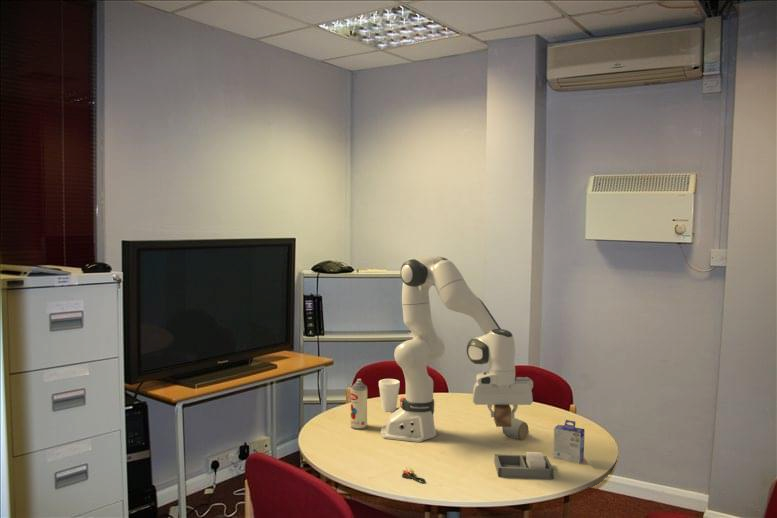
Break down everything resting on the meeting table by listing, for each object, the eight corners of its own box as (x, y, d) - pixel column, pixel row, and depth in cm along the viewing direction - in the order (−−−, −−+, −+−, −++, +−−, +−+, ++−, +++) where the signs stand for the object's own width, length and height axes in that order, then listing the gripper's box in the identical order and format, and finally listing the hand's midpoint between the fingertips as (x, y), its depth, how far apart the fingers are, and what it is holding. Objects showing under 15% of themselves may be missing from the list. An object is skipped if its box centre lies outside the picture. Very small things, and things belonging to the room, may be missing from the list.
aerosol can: (347, 425, 252) (347, 378, 251) (362, 423, 256) (362, 376, 254) (355, 430, 246) (355, 382, 245) (370, 427, 250) (370, 380, 248)
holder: (498, 479, 201) (498, 467, 200) (494, 465, 213) (494, 454, 212) (553, 481, 200) (553, 470, 199) (546, 467, 211) (546, 455, 211)
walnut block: (496, 426, 204) (496, 409, 204) (493, 419, 212) (493, 402, 212) (511, 426, 204) (511, 409, 203) (508, 419, 212) (508, 402, 211)
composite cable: (427, 483, 198) (427, 476, 198) (415, 486, 196) (415, 479, 195) (410, 472, 206) (410, 465, 206) (398, 475, 204) (398, 468, 204)
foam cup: (380, 406, 279) (380, 378, 279) (400, 407, 278) (400, 379, 277) (377, 412, 270) (377, 383, 269) (397, 413, 269) (398, 384, 268)
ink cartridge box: (584, 461, 217) (585, 422, 216) (580, 467, 212) (581, 426, 211) (556, 456, 222) (558, 417, 221) (552, 461, 217) (553, 421, 216)
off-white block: (529, 475, 202) (530, 460, 202) (526, 465, 210) (526, 451, 210) (545, 476, 202) (545, 461, 201) (540, 466, 210) (541, 452, 209)
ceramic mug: (519, 442, 235) (519, 422, 235) (501, 436, 241) (502, 417, 241) (533, 436, 243) (534, 417, 242) (516, 431, 248) (516, 412, 248)
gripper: (531, 375, 209) (531, 414, 210) (472, 374, 211) (472, 414, 211) (534, 379, 203) (534, 419, 204) (473, 379, 205) (473, 419, 205)
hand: (502, 417), depth 208 cm, fingers closed on walnut block, 5 cm apart
